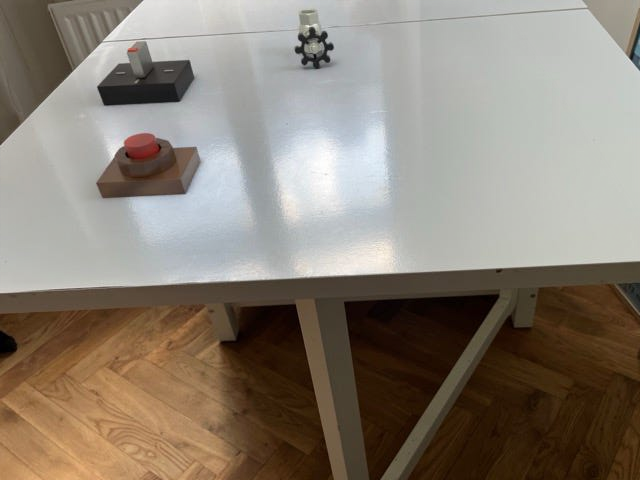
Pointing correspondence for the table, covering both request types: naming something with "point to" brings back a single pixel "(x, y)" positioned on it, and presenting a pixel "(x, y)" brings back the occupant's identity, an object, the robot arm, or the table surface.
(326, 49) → the valve
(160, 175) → the button block
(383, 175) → the table surface
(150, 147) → the button
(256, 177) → the table surface
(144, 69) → the hob knob
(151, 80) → the panel
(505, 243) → the table surface
